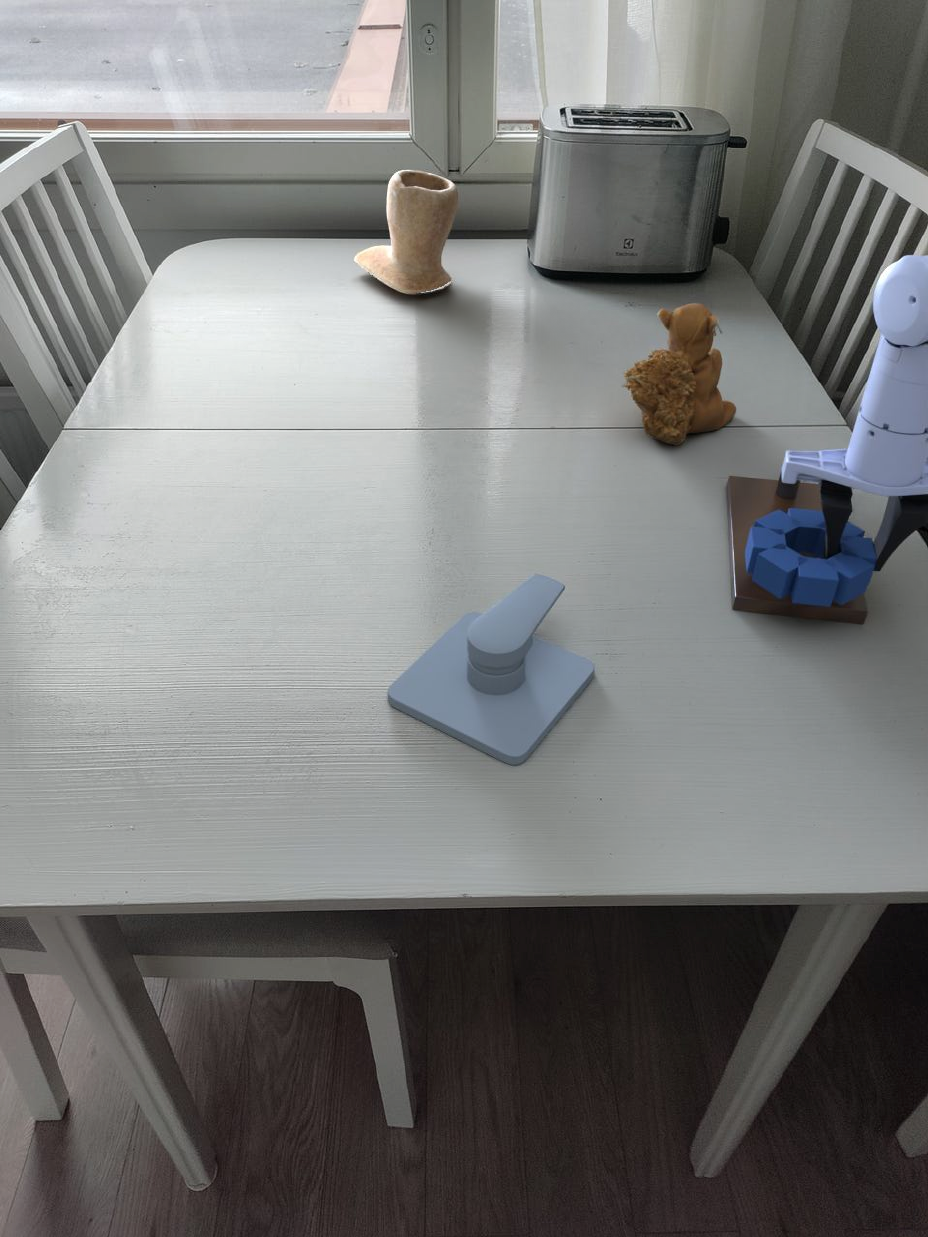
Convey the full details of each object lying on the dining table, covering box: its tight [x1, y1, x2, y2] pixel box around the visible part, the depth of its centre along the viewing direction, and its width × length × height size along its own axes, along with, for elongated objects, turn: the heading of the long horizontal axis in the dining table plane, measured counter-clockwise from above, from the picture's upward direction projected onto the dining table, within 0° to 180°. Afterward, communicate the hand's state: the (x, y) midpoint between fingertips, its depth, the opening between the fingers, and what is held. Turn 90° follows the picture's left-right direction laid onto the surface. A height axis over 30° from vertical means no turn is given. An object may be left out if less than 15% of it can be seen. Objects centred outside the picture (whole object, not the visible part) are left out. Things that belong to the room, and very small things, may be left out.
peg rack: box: [725, 464, 869, 625], centre depth 89 cm, size 11×20×4 cm, turn 170°
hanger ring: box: [745, 508, 877, 607], centre depth 81 cm, size 10×10×3 cm
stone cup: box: [353, 169, 459, 295], centre depth 137 cm, size 15×12×15 cm
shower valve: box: [387, 573, 596, 766], centre depth 75 cm, size 12×6×15 cm
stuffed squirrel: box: [621, 302, 737, 446], centre depth 104 cm, size 10×14×13 cm
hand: (851, 561), depth 81 cm, fingers closed on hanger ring, 3 cm apart
